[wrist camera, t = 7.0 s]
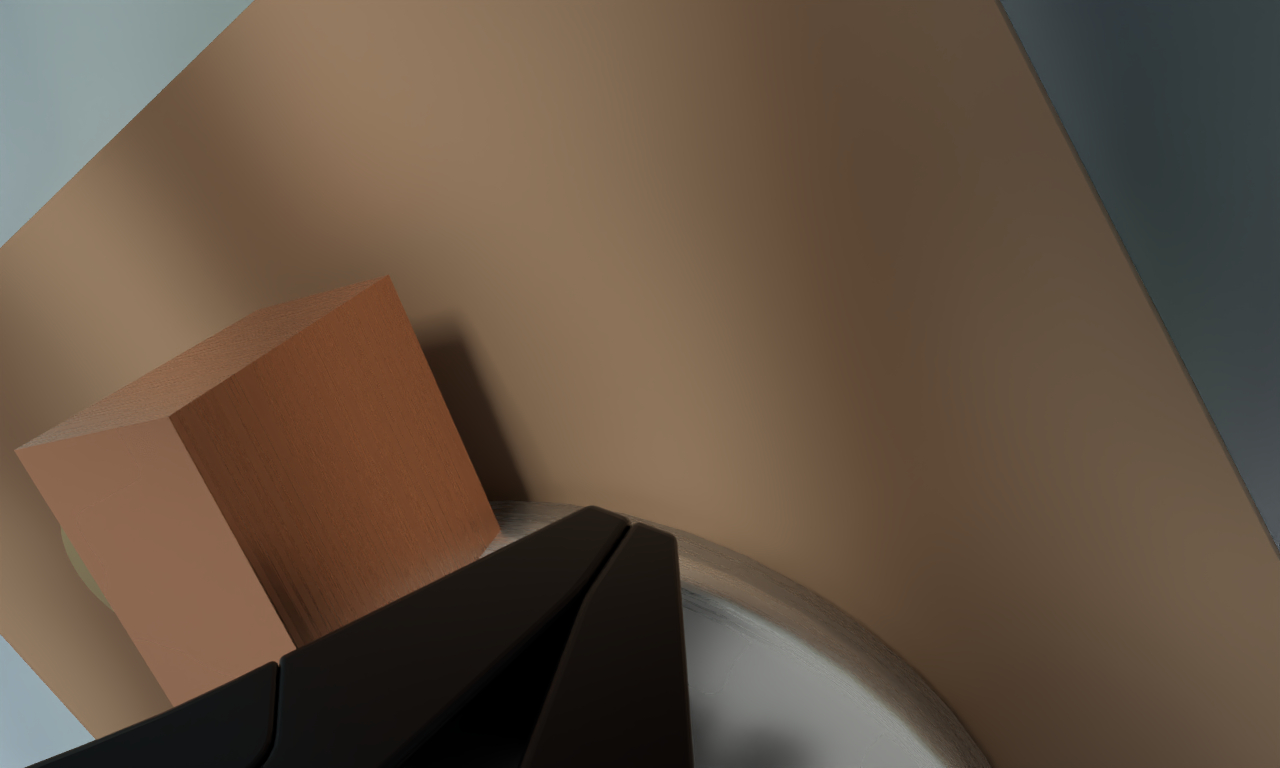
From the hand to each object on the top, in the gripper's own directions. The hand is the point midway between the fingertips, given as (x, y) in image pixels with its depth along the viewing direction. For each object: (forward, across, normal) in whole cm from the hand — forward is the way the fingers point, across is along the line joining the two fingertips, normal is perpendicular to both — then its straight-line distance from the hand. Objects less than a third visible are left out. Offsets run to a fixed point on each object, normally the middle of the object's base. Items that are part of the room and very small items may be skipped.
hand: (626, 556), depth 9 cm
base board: (+3, 0, +6) cm, 7 cm away
